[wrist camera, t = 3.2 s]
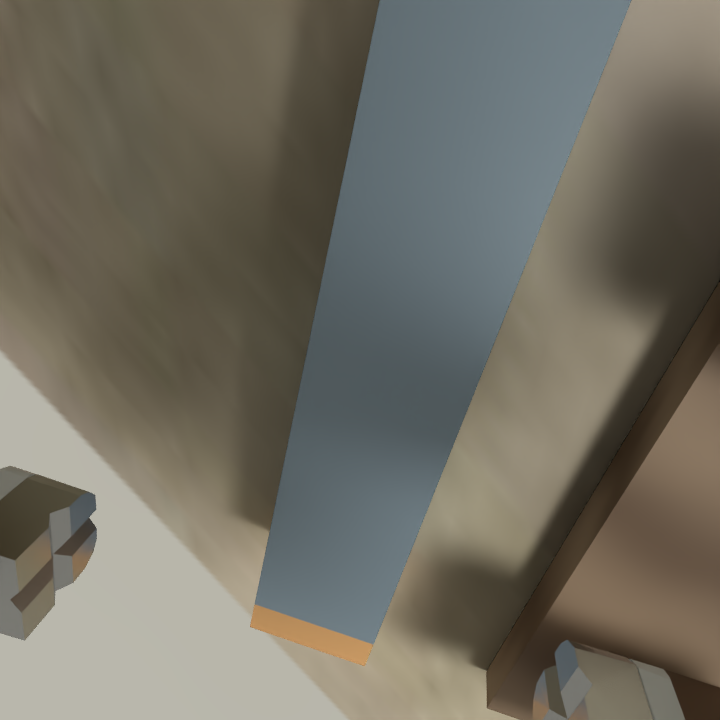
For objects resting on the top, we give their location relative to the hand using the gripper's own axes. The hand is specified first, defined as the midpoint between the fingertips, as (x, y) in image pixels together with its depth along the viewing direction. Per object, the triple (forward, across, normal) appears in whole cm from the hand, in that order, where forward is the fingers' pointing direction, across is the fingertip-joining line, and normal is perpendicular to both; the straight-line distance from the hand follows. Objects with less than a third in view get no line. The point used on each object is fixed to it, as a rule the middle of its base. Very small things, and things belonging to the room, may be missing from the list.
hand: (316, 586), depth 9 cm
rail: (+9, 0, -1) cm, 9 cm away
